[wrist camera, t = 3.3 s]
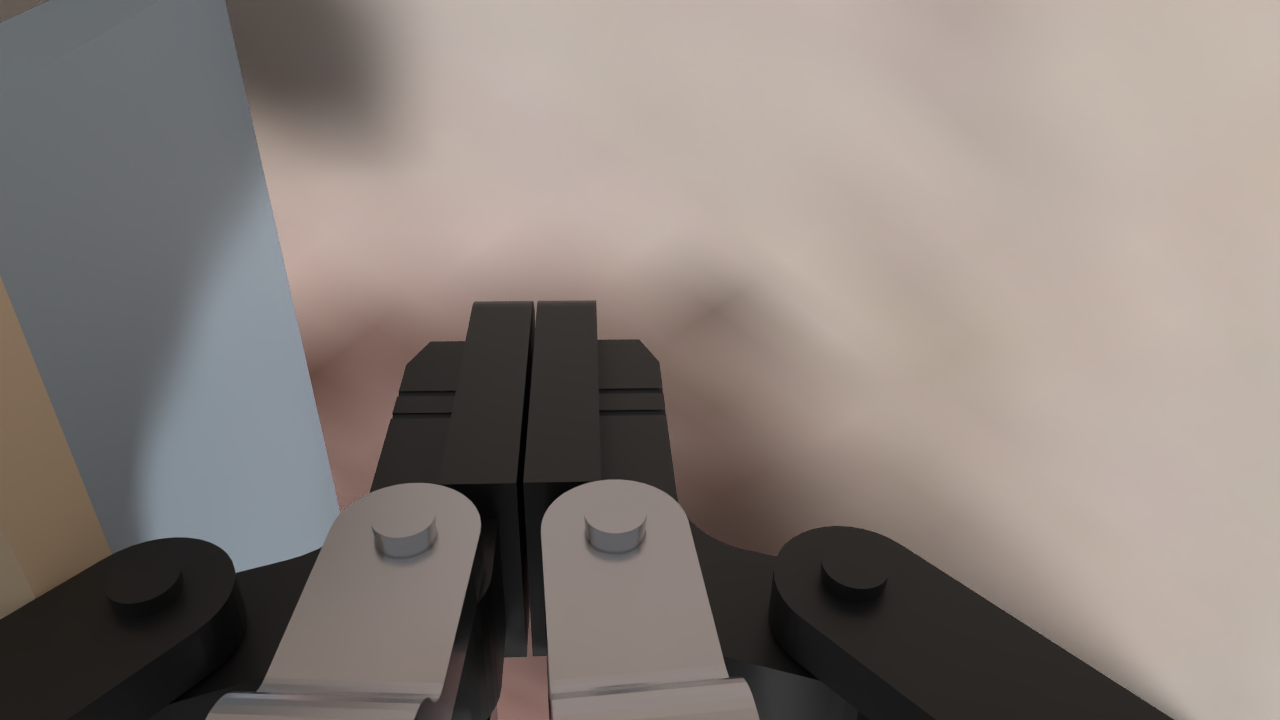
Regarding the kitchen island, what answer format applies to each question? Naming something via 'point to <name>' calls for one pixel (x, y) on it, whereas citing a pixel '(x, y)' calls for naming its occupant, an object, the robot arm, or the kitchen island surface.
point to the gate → (143, 302)
